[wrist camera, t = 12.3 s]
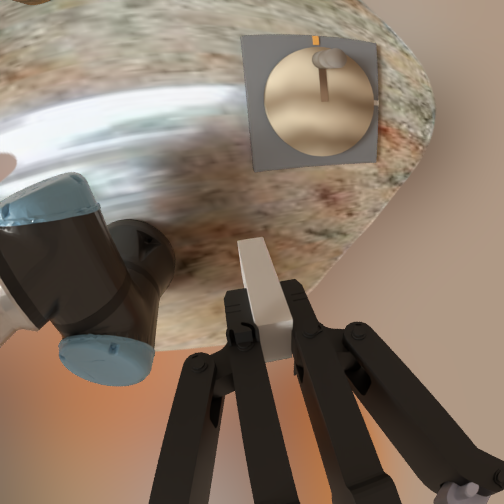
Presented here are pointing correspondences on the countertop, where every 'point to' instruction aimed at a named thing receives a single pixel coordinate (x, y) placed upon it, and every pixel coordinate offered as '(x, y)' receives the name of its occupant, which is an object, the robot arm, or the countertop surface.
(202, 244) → the countertop surface
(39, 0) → the wooden container
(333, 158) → the dial base
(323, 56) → the dial
